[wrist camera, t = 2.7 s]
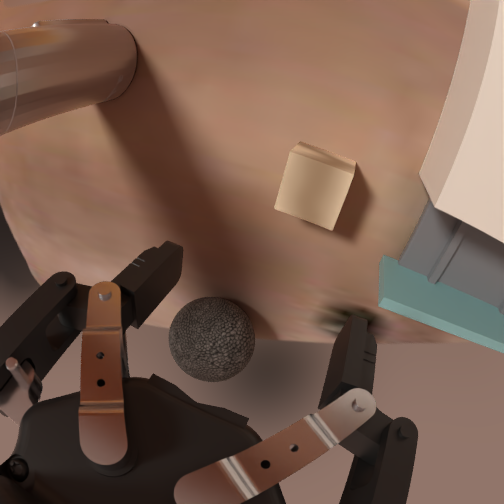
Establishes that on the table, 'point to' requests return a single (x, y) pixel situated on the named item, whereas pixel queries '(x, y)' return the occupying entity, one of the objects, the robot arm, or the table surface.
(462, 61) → the box
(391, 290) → the tray
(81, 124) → the table surface
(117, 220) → the table surface
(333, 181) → the beech block
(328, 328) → the table surface
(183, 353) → the decorative ball
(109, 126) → the table surface
